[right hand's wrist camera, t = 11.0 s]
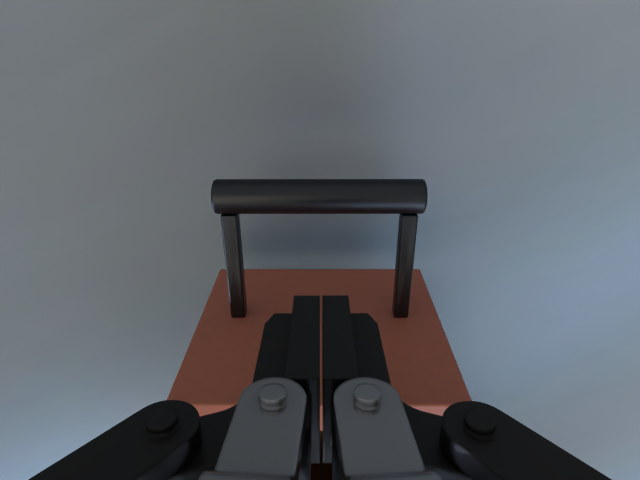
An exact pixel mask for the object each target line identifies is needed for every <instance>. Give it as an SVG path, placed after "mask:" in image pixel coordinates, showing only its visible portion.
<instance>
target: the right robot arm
mask: <svg viewBox="0 0 640 480" xmlns="http://www.w3.org/2000/svg"><path fill="white" fill-rule="evenodd" d="M322 406H323V463H332V480H611V479H610V478H608V477H606V476H605V475H603V474H602V473H600V472H598V471H597V470H595V469H594V468H592V467H590V466H589V465H587V464H586V463H584V462H582V461H581V460H579V459H577V458H576V457H574V456H573V455H571V454H569V453H568V452H566V451H565V450H563V449H561V448H560V447H558V446H557V445H555V444H553V443H552V442H550V441H549V440H547V439H545V438H544V437H542V436H541V435H539V434H537V433H536V432H534V431H532V430H531V429H529V428H528V427H526V426H524V425H523V424H521V423H520V422H518V421H516V420H515V419H513V418H512V417H510V416H508V415H507V414H505V413H504V412H502V411H500V410H499V409H497V408H495V407H493V406H490V405H488V404H485V403H481V402H476V401H462V402H457V403H454V404H452V405H450V406H449V407H448V408H447V409H446V410H445V411H444V413H443V416H440V415H436V414H432V413H428V412H424V411H421V410H418V409H415V408H413V407H411V406H409V405H407V404H406V403H404V402H403V401H402V400H401V398H400V395H399V393H398V392H397V391H396V389H395V388H393V387H392V386H391V382H390V377H389V373H388V368H387V364H386V359H385V355H384V350H383V347H382V341H381V338H380V332H379V327H378V323H377V322H376V321H375V320H374V319H373V318H372V317H371V316H370V315H369V314H368V313H350V305H349V297H348V295H322ZM311 463H320V295H294V299H293V308H292V313H274V314H273V315H272V316H271V318H270V319H269V320H268V321H267V322H266V323H265V324H264V329H263V334H262V339H261V344H260V348H259V353H258V358H257V363H256V367H255V372H254V377H253V382H252V384H250V385H249V386H248V387H247V388H245V389H244V391H243V392H242V393H241V395H240V398H239V401H238V403H237V404H236V405H234V406H233V407H231V408H228V409H226V410H223V411H220V412H216V413H212V414H208V415H204V416H200V417H199V413H198V411H197V409H196V408H195V407H194V406H193V405H191V404H190V403H188V402H185V401H180V400H165V401H160V402H157V403H154V404H151V405H149V406H147V407H145V408H143V409H141V410H140V411H138V412H136V413H135V414H133V415H132V416H130V417H128V418H127V419H125V420H124V421H122V422H120V423H119V424H117V425H116V426H114V427H112V428H111V429H109V430H108V431H106V432H104V433H103V434H101V435H100V436H98V437H96V438H95V439H93V440H91V441H90V442H88V443H87V444H85V445H83V446H82V447H80V448H79V449H77V450H75V451H74V452H72V453H71V454H69V455H67V456H66V457H64V458H63V459H61V460H59V461H58V462H56V463H54V464H53V465H51V466H50V467H48V468H46V469H45V470H43V471H42V472H40V473H38V474H37V475H35V476H34V477H32V478H30V479H29V480H310V479H311Z"/></svg>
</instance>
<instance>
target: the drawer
mask: <svg viewBox="0 0 640 480" xmlns="http://www.w3.org/2000/svg"><path fill="white" fill-rule="evenodd" d="M211 202H212V207H213V210H214V212H215V213H217V214H222V215H221V224H222V233H223V243H224V253H225V262H226V269H221V270H220V272H219V275H218V277H217V279H216V282H215V284H214V287H213V289H212V292H211V294H210V296H209V299H208V301H207V304H206V306H205V309H204V311H203V313H202V316H201V318H200V321H199V323H198V326H197V328H196V331H195V333H194V335H193V338H192V340H191V343H190V345H189V348H188V350H187V352H186V355H185V357H184V360H183V362H182V365H181V367H180V369H179V372H178V374H177V377H176V379H175V382H174V384H173V386H172V389H171V391H170V394H169V396H168V399H167V400H180V401H185V402H188V403H190V404H191V405H193V406H194V407H195V408H196V409H197V411H198V413H199V417H200V416H204V415H208V414H212V413H216V412H220V411H223V410H226V409H228V408H231V407H233V406H234V405H236V404H237V403H238V401H239V398H240V395H241V393H242V392H243V391H244V389H245V388H247V387H248V386H249V385H250V384H252V382H253V377H254V372H255V367H256V363H257V358H258V353H259V348H260V344H261V339H262V334H263V329H264V324H265V323H266V322H267V321H268V320H269V319H270V318H271V316H272V315H273V314H274V313H292V308H293V299H294V295H320V463H311V479H310V480H332V463H323V406H322V295H348V297H349V305H350V313H368V314H369V315H370V316H371V317H372V318H373V319H374V320H375V321H376V322H377V323H378V327H379V332H380V338H381V341H382V347H383V350H384V355H385V359H386V364H387V368H388V373H389V377H390V382H391V386H392V387H393V388H395V389H396V391H397V392H398V393H399V395H400V398H401V400H402V401H403V402H404V403H406V404H407V405H409V406H411V407H413V408H415V409H418V410H421V411H424V412H428V413H432V414H436V415H440V416H443V413H444V411H445V410H446V409H447V408H448V407H449V406H450V405H452V404H454V403H457V402H462V401H471V398H470V396H469V393H468V391H467V388H466V385H465V383H464V380H463V378H462V375H461V373H460V370H459V368H458V365H457V363H456V360H455V358H454V355H453V353H452V350H451V348H450V345H449V343H448V340H447V337H446V335H445V332H444V330H443V327H442V325H441V322H440V320H439V317H438V315H437V312H436V310H435V307H434V305H433V302H432V300H431V297H430V295H429V292H428V290H427V287H426V284H425V282H424V279H423V277H422V274H421V272H420V270H419V269H413V262H414V251H415V241H416V231H417V221H418V215H417V214H421V213H424V211H425V209H426V205H427V186H426V182H425V180H423V179H216V180H214V181H213V184H212V189H211ZM239 214H400V216H399V228H398V241H397V254H396V267H395V269H244V266H243V254H242V242H241V230H240V219H239Z"/></svg>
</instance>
